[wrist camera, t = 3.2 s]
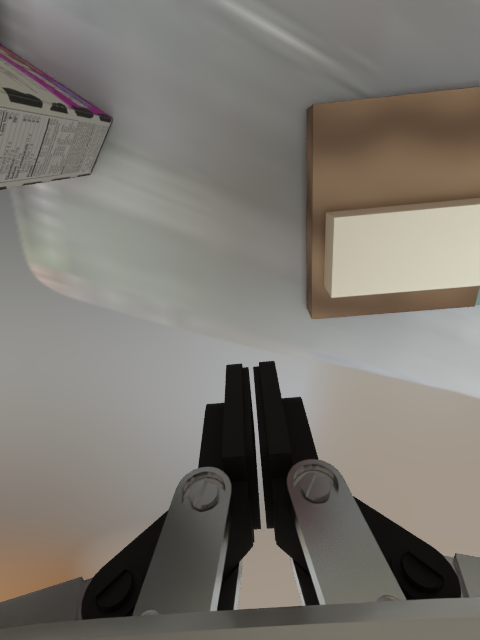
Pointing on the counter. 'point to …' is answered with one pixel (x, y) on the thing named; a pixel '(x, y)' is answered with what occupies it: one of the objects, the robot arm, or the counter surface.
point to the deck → (388, 179)
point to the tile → (402, 248)
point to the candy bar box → (44, 127)
